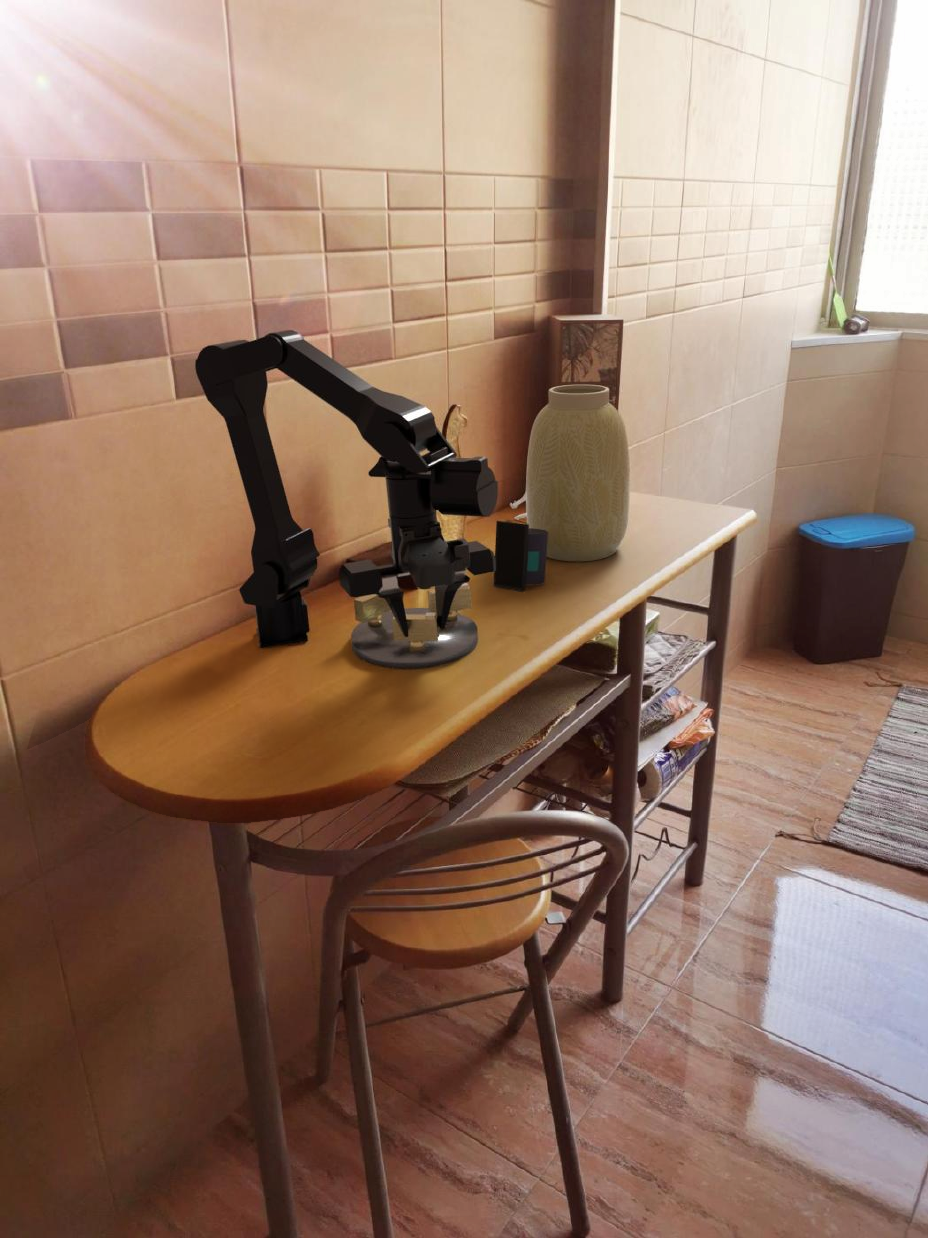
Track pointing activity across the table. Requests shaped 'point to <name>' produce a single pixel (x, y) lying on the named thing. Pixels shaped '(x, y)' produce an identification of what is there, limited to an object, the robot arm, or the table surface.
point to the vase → (579, 474)
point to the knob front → (418, 630)
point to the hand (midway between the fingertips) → (423, 632)
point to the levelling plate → (396, 654)
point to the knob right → (459, 602)
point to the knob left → (370, 610)
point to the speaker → (519, 556)
